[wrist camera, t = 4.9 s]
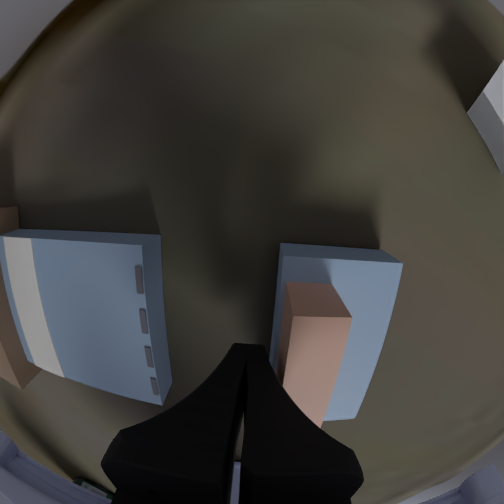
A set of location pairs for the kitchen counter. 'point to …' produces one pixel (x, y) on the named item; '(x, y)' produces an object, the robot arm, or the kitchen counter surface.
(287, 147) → the kitchen counter surface
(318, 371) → the slab with raised block
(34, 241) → the striped blue tabbed panel
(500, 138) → the figurine
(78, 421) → the kitchen counter surface
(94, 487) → the coffee jar
